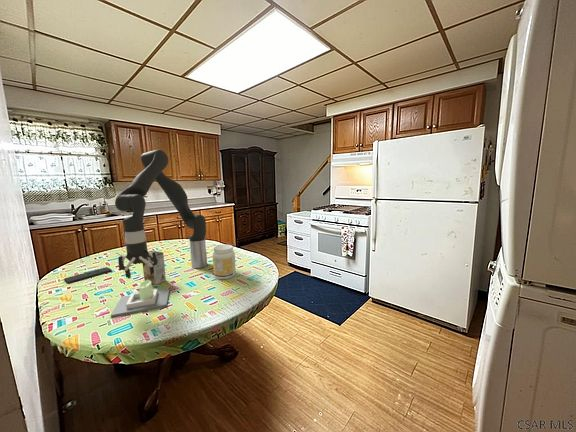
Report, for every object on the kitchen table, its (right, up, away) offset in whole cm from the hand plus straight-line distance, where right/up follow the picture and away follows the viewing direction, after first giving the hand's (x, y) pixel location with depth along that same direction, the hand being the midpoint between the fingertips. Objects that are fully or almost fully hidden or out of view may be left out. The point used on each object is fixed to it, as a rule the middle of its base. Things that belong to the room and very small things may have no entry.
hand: (140, 276), depth 102 cm
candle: (+1, -12, +2) cm, 12 cm away
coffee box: (-7, -9, +24) cm, 27 cm away
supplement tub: (+29, -8, +30) cm, 43 cm away
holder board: (0, -13, +2) cm, 13 cm away
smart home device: (-51, -9, +32) cm, 61 cm away
